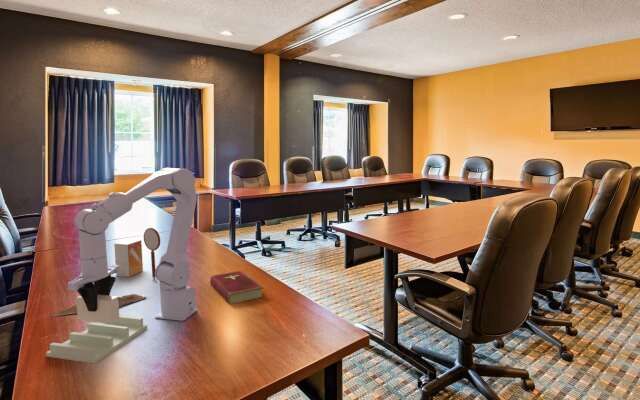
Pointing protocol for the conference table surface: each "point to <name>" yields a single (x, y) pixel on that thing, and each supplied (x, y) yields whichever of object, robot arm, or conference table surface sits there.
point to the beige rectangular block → (99, 309)
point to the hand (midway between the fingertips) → (98, 307)
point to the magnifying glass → (152, 245)
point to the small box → (128, 257)
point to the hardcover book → (236, 286)
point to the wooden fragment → (121, 302)
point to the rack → (97, 340)
